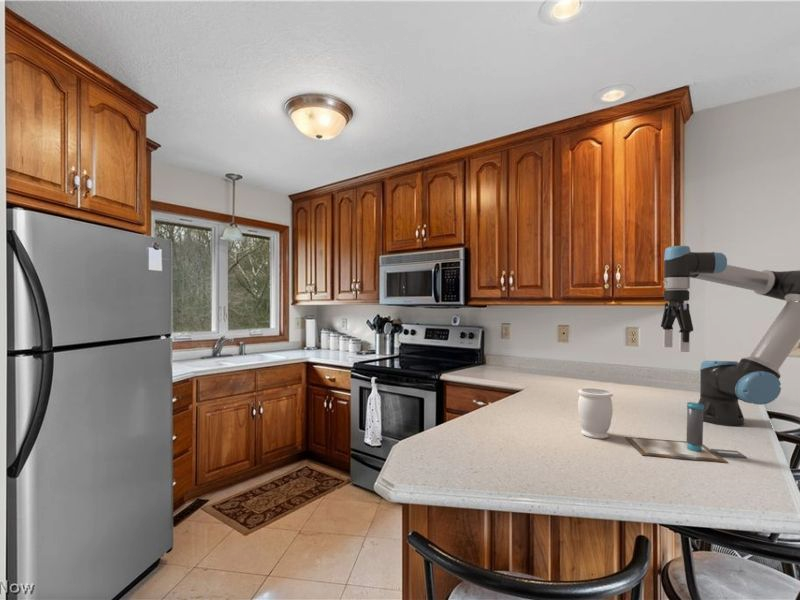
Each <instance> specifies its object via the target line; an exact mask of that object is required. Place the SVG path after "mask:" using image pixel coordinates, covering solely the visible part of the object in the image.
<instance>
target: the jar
mask: <svg viewBox="0 0 800 600" xmlns="http://www.w3.org/2000/svg"><path fill="white" fill-rule="evenodd" d="M577 390H578V394H579V397H578V401H577V412H578V418H579V423H580V426H581V431H580V433H581V434H582V435H583V436H585V437H587V438H592V439H598V440H600V439H603V440H605V439H607V438H609V437H610V436H609V433H608V431H609V429H610V428H611V424H612V423H611V422H612V419H613V410H614V409H613V400H612V397H613V392H612V391H609V390H605V389H601V388H600V389H599V388H592V387H591V388H590V387H585V388H578V389H577Z"/></svg>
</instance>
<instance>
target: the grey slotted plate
mask: <svg viewBox="0 0 800 600" xmlns="http://www.w3.org/2000/svg"><path fill="white" fill-rule="evenodd" d="M710 450H712V451H713V452H715V453H716V454H717V455H719V456H720V457H727V458H740V459H747V458H748V457H747V455H744V454H743V453H742V452H739V451H738V450H732V449H731V450H729V449H719V448H710Z"/></svg>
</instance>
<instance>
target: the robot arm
mask: <svg viewBox="0 0 800 600" xmlns="http://www.w3.org/2000/svg"><path fill="white" fill-rule="evenodd" d="M663 261H664V262H663V264H664V267H663V269H664V277H663V281H662V283H663V284H664V285H663V288H664V289H665V290H664V291H663V300H664V301H668V302H665V303H664V310H663V314H662V320H661V324H660V327H661V328H662V329H663V346H662V347H663V348H673V339H674V338H673V333H674V332H673V330H674V327H673V326H674V323H675V320H677V323H678V325H679V326H678V327H679V329H680V330H678V333H679V348H678V349H679V350H678V351H679V352H680V353H681V352H683V353H690V343H691V342H690V341H691V340H690V333H692V332H694V326H693V322H692V318H691V313H690V304H689V303H685V302H688V301H690V290H689V289H690V288H691V287H690V286H691V284H690V283H691V282H690V281H691V278H692V279H698V280H702V281H706V282H711V283H716V284H721V285H726V286H731V287H735V288H740V289H745V290H749V291H752V292H754V293H755V294H757V295H760V296H765V297H769V298H771V299H772V298H773V299H778V300H780V301H781V300H782V301H785V302H786V303H785V305H784V306H783V308H782V309H781V310H780V312H779V313H778V314H777V317H776V318H775V319H774V321H773V322H772V323H771V325H770V326H769V328H768V329H767V330H766V332H765V334H764V335H763V336H762V338H761V339H760V341H759V342H758V344H757V346H755V348H754V349H753V350H752V352H751V354H750V355H749V356H747V357H742V358H740V361H739V362H738V361H736V360H734V361H730V360H703V361H702V362H701V363H700V369H699V372H700V381H699V382H700V386H699V387H700V389H699V390H700V392H699V393H700V395H699V397H700V398H699V400H698V402H697V403H700V404H703V405H704V410H703V422H706V423H711V424H715V425H716V424H717V425H721V426H733V427H734V426H735V427H736V426H743V425H744V424H745V418H744V415H743V412H742V410H741V406H740V404H739V401H742V402H744V403H747V404H754V405H758V406H762V405H767V404H770V403H772V402H774V401H775V400H777V399H778V397H779V395H780V394H781V391H782V387H781V384H782V383H781V381H780V378H781V376H782V375H781V373H780V368H781V367H782V365H783V364H784V363H785V361H786V360H787V358H788V357H789V356H790V354H791V352H792V351H793V349H794V348H795V346H796V345H797V344H798V342H799V340H800V269H797V270H786V271H774V270H770V269H769V270H768V269H764V270H762V271H761V270H760V271H759V270H755V269H750V268H745V267H740V266H737V265H732V264H728V258H727V257H726V255H725V254H724V253H722V252H717V251H716V252H715V251H709V252H705V251H704V252H703V251H699V252H698V251H697V252H695V251H694V252H692V251H691V248H690V246H688V245H675V246H674V245H673V246H668V247H666V248H665V250H664V259H663Z"/></svg>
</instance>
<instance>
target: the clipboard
mask: <svg viewBox="0 0 800 600" xmlns="http://www.w3.org/2000/svg"><path fill="white" fill-rule="evenodd" d="M625 439H626V441H628V442H629V444H631V445H632V446H633V448H634V449H635V450H636V451H637V452H638V453H639V454H640V455H641V456H643V457H653V458H655V457H656V458H664V459H665V458H666V459H677V460H689V461H697V462H698V461H700V462H709V463H710V462H712V463H724V464H728V463H729V462H728V461H727V460H726V459H725V458H724V457H723V456H719V455H717V454H716V453H715V452H713V451H712V450H711V448H709V447H708V446H706V445H705V444H703V445H702V451H701V452H695V451H691V450H688V449H687V440H686V441H685V440H684V441H683V440H674V439H673V440H672V439H660V438H659V439H658V438H646V437H633V436H625Z"/></svg>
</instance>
